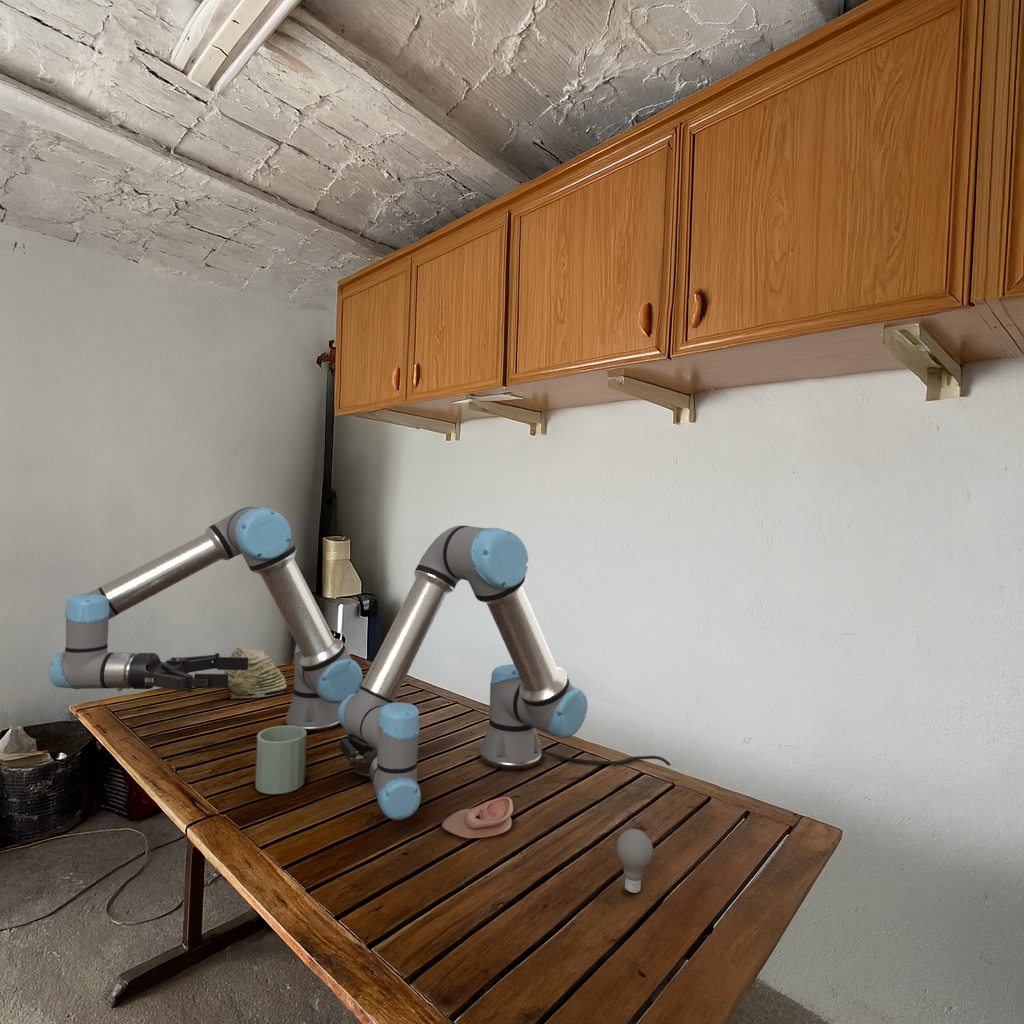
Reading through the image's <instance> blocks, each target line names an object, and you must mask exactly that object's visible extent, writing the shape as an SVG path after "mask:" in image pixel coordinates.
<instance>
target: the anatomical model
mask: <svg viewBox="0 0 1024 1024" xmlns="http://www.w3.org/2000/svg"><path fill="white" fill-rule="evenodd" d="M513 812H514V803H513V800H512V799H511V798H510V797H508V796H501V797H497V798H493V799H491V800H487V801H485V802H483V803H481V804H479V805H477V806H474V807H472V808H464V809H461V810H458V811H456V812H454V813H452V814H451V815H449V816H448V817H447V818H445V819H444V820H443V822H442V824H441V827H442V828H443V829H444V830H445V831H447V832H448V833H451V834H453V835H455V836H458V837H460V838H465V839H480V838H481V839H482V838H488V837H495V836H498V835H501V834H503V833H505V832H507V831H509V830H510V829H511V828H512V825H513V821H512V818H511V816H512V814H513Z"/></svg>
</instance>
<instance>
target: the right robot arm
mask: <svg viewBox="0 0 1024 1024" xmlns="http://www.w3.org/2000/svg"><path fill="white" fill-rule="evenodd" d="M527 563H529V554H528V550H527V547H526V545H525V543H524V542H523V540H522V539H521V538H520V537H519V536H518V535H517V534H515V533H514V532H511V531H510V530H504V529H503V528H499V527H480V526H479V527H478V526H470V525H463V524H462V525H455V526H452V527H449V528H448V529H446V530H445V531H443V532H442V533H440V534H439V535H438V536H437V537H436V538H435V539H434V540H433V541H432V543H431V544H430V545H429V546H428V548H427V549H426V550H425V551H424V553H423V554H422V556H421V558H420V560H419V562H418V564H417V565H416V568H415V570H414V572H413V574H414V577H415V579H414V582H412V583H413V584H412V585H411V587H410V589H409V591H408V593H407V595H406V596H405V599H404V601H403V602H402V605H401V607H400V608H399V611H398V613H397V615H396V616H395V618H394V620H393V622H392V624H391V626H390V627H389V630H388V632H387V633H386V636H385V638H384V640H383V642H382V643H381V646H380V648H379V649H378V651H377V654H376V656H375V657H374V659H373V661H372V663H371V665H370V667H369V669H368V670H367V673H366V675H365V677H364V679H363V680H362V683H361V685H360V688H359V690H358V692H357V693H356V694H351V695H349V696H348V697H347V698H346V699H344V700H343V701H342V703H341V704H340V706H339V710H338V719H339V722H340V725H341V727H343V729H346V731H347V732H348V733H347V734H346V737H341V738H340V748H339V749H340V752H341V753H342V754H343V755H344V756H345V758H346V759H347V760H348V761H349V767H354V766H355V765H356V763H358V762H363V764H365V765H366V766H367V770H368V773H369V776H370V777H369V778H370V781H371V783H372V786H373V789H374V793H375V796H376V799H377V804H378V807H379V808H380V810H381V811H382V813H383V814H384V815H385V816H386V817H387V818H388V819H391V820H393V821H403V820H405V819H408V818H410V817H411V816H412V815H414V814H415V812H416V811H417V810H418V808H419V807H420V804H421V800H422V793H421V788H420V785H419V783H418V752H419V751H418V750H419V736H420V730H421V728H420V713H419V712H420V711H419V709H418V707H416V705H414V704H412V703H406V702H401V701H400V702H395V700H396V698H397V695H398V693H399V691H400V690H401V687H402V685H403V683H404V681H405V679H406V677H407V675H408V673H409V671H410V669H411V667H412V665H413V663H414V661H415V659H416V657H417V655H418V653H419V651H420V649H421V647H422V645H423V643H424V641H425V638H426V636H427V635H428V632H429V630H430V628H431V626H432V624H433V622H434V620H435V618H436V616H437V614H438V612H439V610H440V608H441V606H442V605H443V603H444V600H445V598H446V597H447V595H448V594H451V593H453V592H454V590H455V589H456V587H457V585H458V583H459V582H460V581H461V580H464V581H467V582H468V583H469V586H470V588H471V590H472V592H473V595H474V597H475V598H476V600H477V601H478V602H481V603H486V606H487V608H488V610H489V613H490V615H491V617H492V619H493V621H494V623H495V625H496V627H497V630H498V632H499V634H500V636H501V639H502V641H503V643H504V645H505V648H506V650H507V653H508V654H509V656H510V658H511V662H512V663H511V664H504V665H503V664H502V665H499V666H497V667H495V668H494V669H493V670H492V672H491V676H490V683H489V686H490V687H489V722H488V728H487V731H486V733H485V734H484V737H483V741H482V744H481V747H480V759H481V761H482V762H483V763H484V764H486V765H488V766H490V767H491V768H496V769H501V770H506V771H508V770H509V771H521V770H527V769H531V768H534V767H536V766H538V765H539V764H540V763H541V762H542V755H543V754H544V755H547V756H550V757H553V758H556V759H559V760H564V761H569V762H576V763H586V764H593V765H594V764H595V765H596V764H597V765H620V764H625V763H628V762H631V761H635V760H658V761H662V762H663V763H664V764H666V765H667V766H672V764H671V763H670V762H669V761H668V760H667V759H665V757H662V756H659V755H638V756H637V755H636V756H630V757H627V758H624V759H620V760H594V759H583V758H574V757H569V756H563V755H560V754H556V753H554V752H551V751H547V750H543V749H542V747H541V744H540V739H539V736H538V733H537V730H539V731H541V732H544V733H545V734H548V735H550V736H551V737H556V738H559V739H569V738H571V737H572V736H574V735H575V734H576V733H577V732H578V731H579V730H580V729H581V727H582V726H583V723H584V722H585V719H586V716H587V713H588V707H589V704H588V703H589V702H588V697H587V695H586V693H585V692H584V690H582V689H580V688H579V687H574V686H573V685H572V684H571V681H570V679H569V676H568V674H567V671H566V670H565V669H564V668H563V667H560V666H558V665H556V663H555V660H554V658H553V655H552V653H551V651H550V648H549V646H548V644H547V641H546V638H545V637H544V633H543V632H542V629H541V627H540V625H539V622H538V619H537V618H536V615H535V612H534V610H533V607H532V605H531V603H530V601H529V598H528V595H527V594H526V591H525V589H524V585H525V583H526V580H527V576H526V575H527V572H528V568H529V567H528V565H527ZM357 737H359V738H360V739H362V740H364V741H366V742H367V743H368V744H367V743H365V742H363V741H361V740H359V739H357Z"/></svg>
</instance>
